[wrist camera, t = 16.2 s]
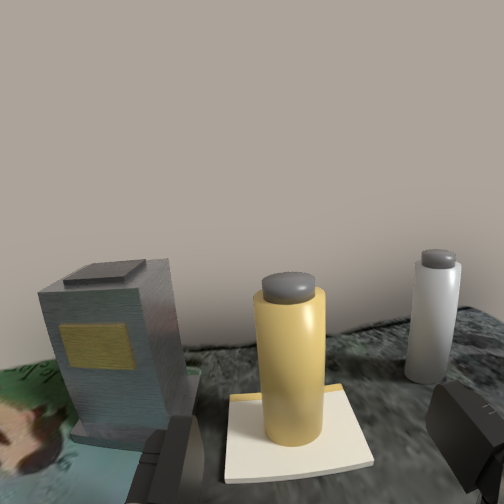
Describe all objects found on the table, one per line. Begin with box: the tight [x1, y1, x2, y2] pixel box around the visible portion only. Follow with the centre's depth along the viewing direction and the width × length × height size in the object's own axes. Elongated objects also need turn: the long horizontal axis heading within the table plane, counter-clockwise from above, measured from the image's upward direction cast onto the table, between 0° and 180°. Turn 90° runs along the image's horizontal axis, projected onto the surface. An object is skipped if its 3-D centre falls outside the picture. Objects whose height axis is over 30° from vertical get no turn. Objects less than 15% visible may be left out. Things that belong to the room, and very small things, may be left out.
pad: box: [225, 384, 374, 484], centre depth 22 cm, size 10×10×1 cm
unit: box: [38, 259, 202, 451], centre depth 24 cm, size 10×10×13 cm
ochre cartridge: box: [253, 272, 325, 447], centre depth 21 cm, size 4×4×12 cm
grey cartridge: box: [404, 249, 461, 384], centre depth 26 cm, size 4×4×12 cm
